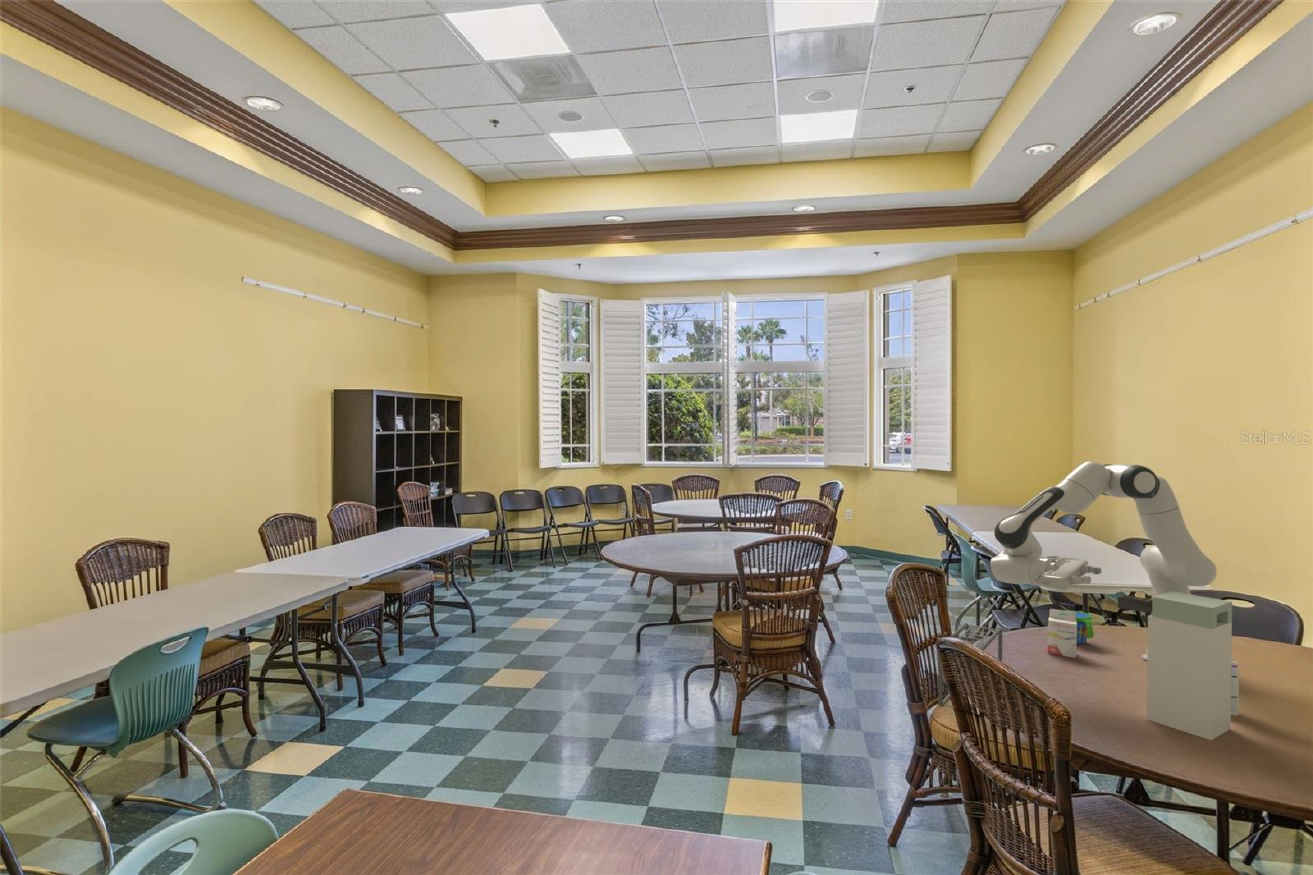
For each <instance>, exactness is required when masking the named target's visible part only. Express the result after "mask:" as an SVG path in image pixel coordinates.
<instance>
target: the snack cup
mask: <svg viewBox="0 0 1313 875" xmlns="http://www.w3.org/2000/svg"><path fill="white" fill-rule="evenodd" d="M1063 611H1070V612H1076V621H1077V642H1076V645H1077V644H1079V645H1080V644H1081V645H1082V644H1085V643H1087V640H1088V639H1092V638H1093V637H1094V635H1095V634H1094V630H1093V629H1094V628H1093V625H1092V622H1091V620H1092V619H1093V617H1092V615H1091V614H1089V613H1086V612H1083V611H1077V610H1066V609H1065V610H1063ZM1058 615H1063V616H1067V614H1064V613H1058Z"/></svg>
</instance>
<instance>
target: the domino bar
mask: <svg viewBox="0 0 1313 875" xmlns="http://www.w3.org/2000/svg"><path fill="white" fill-rule="evenodd" d="M1152 599H1153V598H1146V597H1137V596H1132V595H1131V596H1130V595H1120V596H1118V597H1117V608H1118V609H1123V610H1128V611H1135V612H1136V611H1137V612H1140V613H1141V612H1143V613H1148V614H1152Z"/></svg>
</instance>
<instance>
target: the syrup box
mask: <svg viewBox="0 0 1313 875" xmlns="http://www.w3.org/2000/svg"><path fill="white" fill-rule="evenodd" d="M1239 672H1240V671H1239V663H1238V662H1236V661H1235V660H1232V659H1231V716H1239V715H1240V711H1239V710H1240V709H1239V708H1240V707H1239V705H1240V704H1239V703H1240V702H1239V701H1240V700H1239V699H1240V698H1239V696H1240V694H1239V693H1240V692H1239V691H1240V689H1239V688H1240V686H1239V685H1240V683H1239V677H1240V676H1239V675H1240V673H1239Z"/></svg>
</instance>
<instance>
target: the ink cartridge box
mask: <svg viewBox="0 0 1313 875" xmlns="http://www.w3.org/2000/svg"><path fill="white" fill-rule="evenodd" d="M1070 611H1071V610H1070ZM1070 611H1063V610H1061V609H1055V608H1050V609H1049V617H1048V619H1047V620H1048V623H1047V653H1048V654H1050V655H1051V654H1052V655H1055V656H1062V657H1067V658H1074V659H1075V658H1077V643H1076V642H1077V621H1076V612H1070ZM1058 613H1064V614H1067V616H1063V615H1058Z"/></svg>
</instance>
